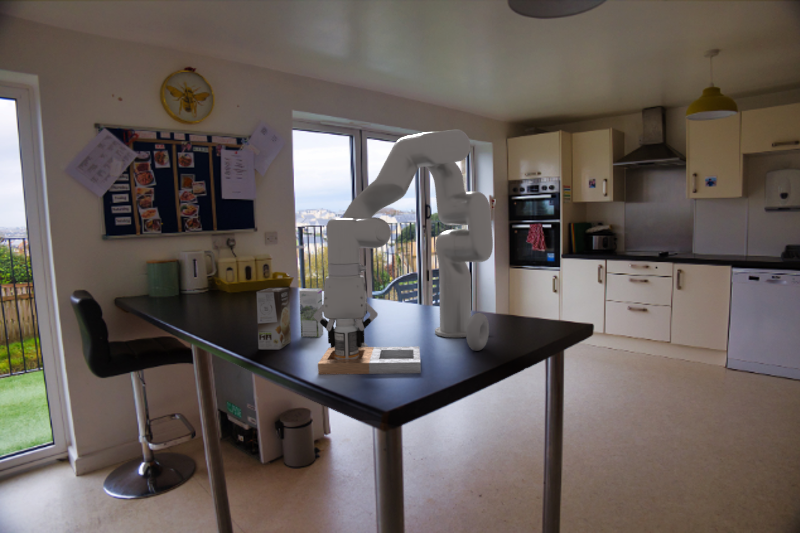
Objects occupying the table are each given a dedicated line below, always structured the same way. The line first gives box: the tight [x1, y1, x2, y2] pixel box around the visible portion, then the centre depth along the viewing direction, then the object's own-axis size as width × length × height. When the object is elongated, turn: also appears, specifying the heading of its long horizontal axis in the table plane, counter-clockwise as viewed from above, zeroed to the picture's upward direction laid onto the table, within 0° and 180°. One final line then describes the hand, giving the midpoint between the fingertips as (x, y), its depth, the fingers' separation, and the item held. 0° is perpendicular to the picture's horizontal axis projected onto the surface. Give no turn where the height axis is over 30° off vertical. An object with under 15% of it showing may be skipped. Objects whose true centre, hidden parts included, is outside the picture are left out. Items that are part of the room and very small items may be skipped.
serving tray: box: [317, 346, 422, 375], centre depth 113 cm, size 23×14×2 cm, turn 89°
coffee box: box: [256, 287, 292, 350], centre depth 133 cm, size 9×6×16 cm
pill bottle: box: [334, 319, 359, 360], centre depth 112 cm, size 6×6×10 cm
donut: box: [465, 312, 490, 352], centre depth 124 cm, size 10×4×10 cm, turn 148°
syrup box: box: [298, 287, 324, 338], centre depth 145 cm, size 6×6×14 cm
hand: (346, 345), depth 113 cm, fingers closed on pill bottle, 5 cm apart
